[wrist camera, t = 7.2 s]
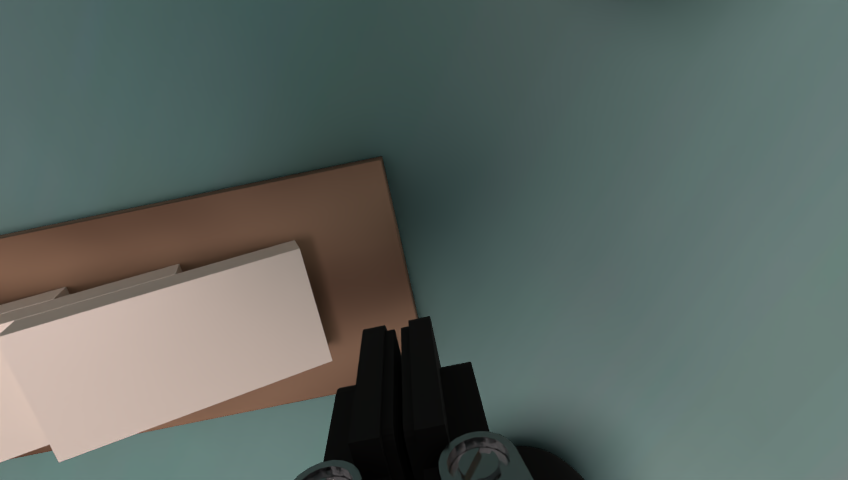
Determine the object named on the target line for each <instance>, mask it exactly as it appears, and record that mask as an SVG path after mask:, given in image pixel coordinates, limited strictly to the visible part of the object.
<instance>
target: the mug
mask: <svg viewBox="0 0 848 480" xmlns="http://www.w3.org/2000/svg"><path fill="white" fill-rule="evenodd" d="M515 447H516V449H517V451H518V452H519V454H520V456H521V458H522V460H523V461H524V463H525V465H526V467H527V469H528V470H529V472H530V474H532V475H534V476H537V477H539V478H541V479H543V480H584V479H583V478H582V477H581V476H580V475H579V474H578V473H577V472H576V471H575V470H574V469H573V468H572V467H571V466H570V465H569V464H567V463H566V462H565V461H563V460H562V459H560V458H559V457H557V456H556V455H554V454H552V453H550V452H547V451H545V450H542V449H539V448H534V447H527V446H515Z"/></svg>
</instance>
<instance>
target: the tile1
mask: <svg viewBox="0 0 848 480" xmlns="http://www.w3.org/2000/svg"><path fill="white" fill-rule="evenodd" d="M0 349H1V351H2V353H3V355H4V357H5V359H6V361H7V363H8V365H9V367H10V368H11V370H12V372H13V374H14V376H15V378H16V380H17V382H18V384H19V386H20V388H21V390H22V392H23V394H24V396H25V398H26V400H27V402H28V404H29V405H30V407H31V409H32V411H33V413H34V415H35V417H36V419H37V421H38V423H39V425H40V427H41V429H42V431H43V433H44V435H45V437H46V439H47V441H48V443H49V444H50V446H51V448H52V450H53V452H54V454H55V456H56V458H57V460H58V462H62V461H64V460H67V459H70V458H72V457H75V456H78V455H80V454H83V453H86V452H88V451H91V450H94V449H97V448H99V447H102V446H105V445H107V444H110V443H113V442H115V441H118V440H121V439H123V438H126V437H129V436H132V435H134V434H137V433H140V432H142V431H145V430H148V429H150V428H153V427H156V426H159V425H161V424H164V423H167V422H169V421H172V420H175V419H177V418H180V417H183V416H185V415H188V414H191V413H194V412H196V411H199V410H202V409H204V408H207V407H210V406H212V405H215V404H218V403H220V402H223V401H226V400H229V399H231V398H234V397H237V396H239V395H242V394H245V393H247V392H250V391H253V390H255V389H258V388H261V387H264V386H266V385H269V384H272V383H274V382H277V381H280V380H282V379H285V378H288V377H291V376H293V375H296V374H299V373H301V372H304V371H307V370H309V369H312V368H315V367H317V366H320V365H323V364H326V363H328V362H331V361H332V358H331V354H330V351H329V347H328V344H327V341H326V337H325V334H324V330H323V327H322V323H321V320H320V316H319V313H318V310H317V306H316V303H315V299H314V296H313V292H312V289H311V286H310V282H309V279H308V275H307V272H306V268H305V265H304V262H303V258H302V255H301V251H300V248H299V246H298V245H297V243H296V242H295V240H293V241H289V242H286V243H282V244H279V245H275V246H272V247H268V248H265V249H261V250H258V251H254V252H251V253H247V254H244V255H240V256H237V257H234V258H230V259H227V260H223V261H220V262H216V263H213V264H209V265H206V266H202V267H199V268H195V269H192V270H188V271H185V272H181V273H178V274H175V275H171V276H168V277H164V278H161V279H157V280H154V281H150V282H147V283H143V284H140V285H136V286H133V287H129V288H126V289H122V290H119V291H116V292H112V293H109V294H105V295H102V296H98V297H95V298H91V299H88V300H84V301H81V302H77V303H74V304H70V305H67V306H63V307H60V308H57V309H53V310H50V311H46V312H43V313H39V314H36V315H32V316H29V317H25V318H22V319H18V320H15V321H13V322H12V323H11V324H10V325H9V326H8V327H7V328H6V329H5V330H3V331H2V332H1V333H0Z"/></svg>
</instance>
